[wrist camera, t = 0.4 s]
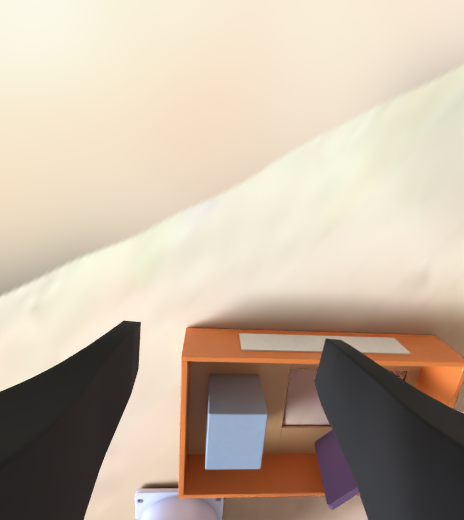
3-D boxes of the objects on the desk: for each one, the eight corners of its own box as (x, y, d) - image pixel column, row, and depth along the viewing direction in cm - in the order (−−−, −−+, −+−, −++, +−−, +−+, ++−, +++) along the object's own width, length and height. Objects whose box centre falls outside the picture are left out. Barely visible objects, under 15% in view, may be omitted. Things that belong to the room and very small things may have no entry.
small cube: (253, 423, 25) (260, 469, 21) (206, 422, 24) (205, 470, 21) (259, 374, 23) (268, 414, 19) (209, 373, 23) (208, 414, 19)
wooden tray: (397, 454, 27) (422, 494, 24) (182, 455, 26) (178, 498, 22) (435, 333, 23) (472, 361, 20) (186, 326, 22) (181, 354, 18)
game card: (338, 520, 19) (457, 444, 18) (287, 453, 19) (400, 375, 18) (322, 452, 26) (408, 394, 25) (284, 404, 26) (367, 344, 25)
